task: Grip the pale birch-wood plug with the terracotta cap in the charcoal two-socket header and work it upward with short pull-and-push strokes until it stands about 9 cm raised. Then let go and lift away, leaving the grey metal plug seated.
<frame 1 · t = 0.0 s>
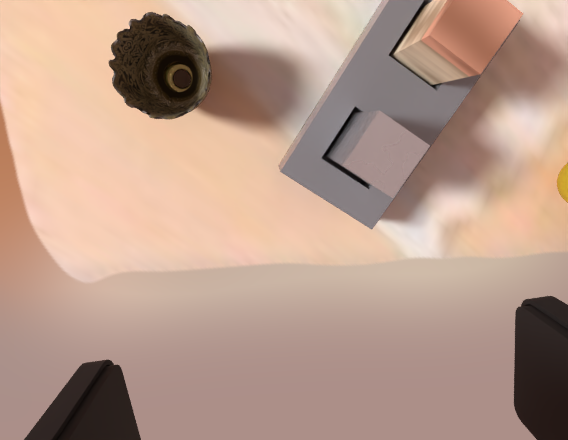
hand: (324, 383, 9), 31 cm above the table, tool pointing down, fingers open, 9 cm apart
cup: (182, 79, 37), on the table
metal plug: (365, 149, 33), point 6 cm above the table, slide at 0.0 cm
birch plug: (438, 42, 31), point 6 cm above the table, slide at 0.0 cm
header: (379, 101, 38), on the table
lemon: (563, 176, 41), on the table
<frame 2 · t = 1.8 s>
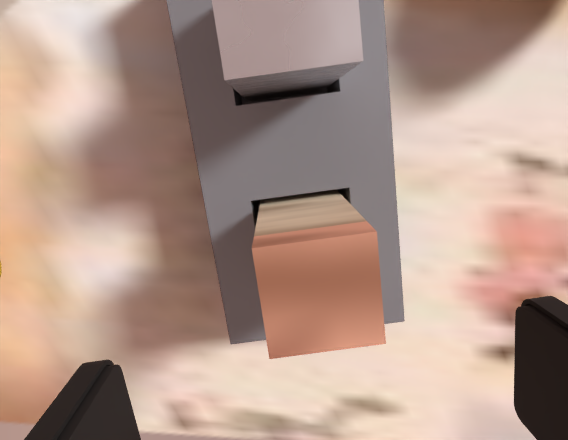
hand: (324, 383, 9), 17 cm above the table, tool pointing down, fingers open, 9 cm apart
metal plug: (281, 36, 17), point 6 cm above the table, slide at 0.0 cm
birch plug: (307, 248, 20), point 6 cm above the table, slide at 0.0 cm
header: (290, 143, 24), on the table
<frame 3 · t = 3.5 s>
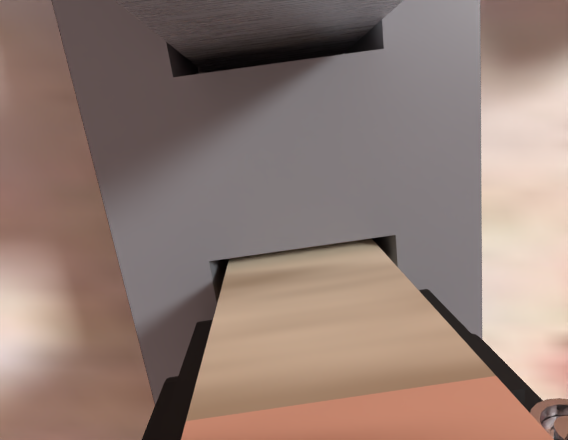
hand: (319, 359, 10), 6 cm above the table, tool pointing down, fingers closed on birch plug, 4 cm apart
birch plug: (318, 357, 10), point 6 cm above the table, slide at 0.0 cm, touching gripper, header
header: (283, 148, 15), on the table
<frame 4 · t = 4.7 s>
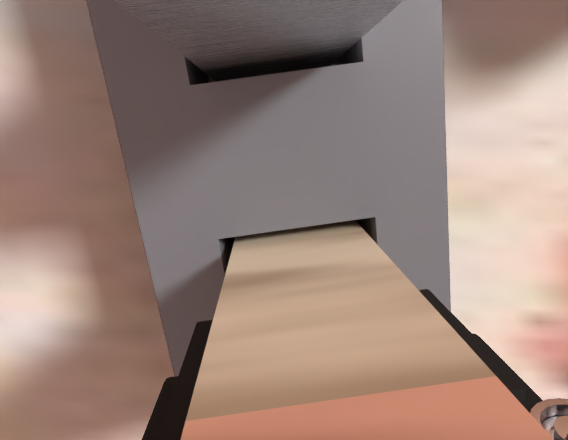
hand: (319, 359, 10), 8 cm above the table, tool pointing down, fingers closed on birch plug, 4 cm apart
birch plug: (318, 357, 10), point 8 cm above the table, slide at 2.1 cm, touching gripper
header: (281, 145, 17), on the table
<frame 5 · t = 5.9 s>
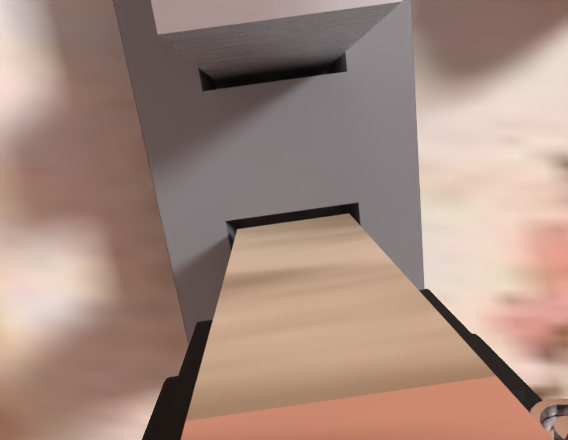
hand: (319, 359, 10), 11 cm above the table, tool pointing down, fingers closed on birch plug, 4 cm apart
birch plug: (318, 357, 10), point 11 cm above the table, slide at 4.4 cm, touching gripper
header: (279, 142, 19), on the table
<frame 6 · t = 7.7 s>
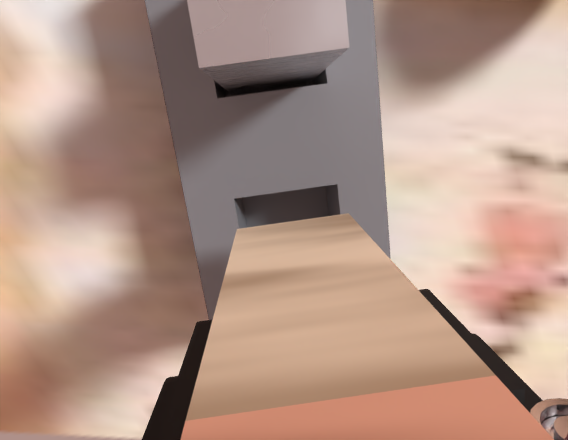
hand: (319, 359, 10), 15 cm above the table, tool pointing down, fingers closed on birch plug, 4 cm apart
metal plug: (264, 23, 16), point 6 cm above the table, slide at 0.0 cm
birch plug: (318, 356, 10), point 15 cm above the table, slide at 8.9 cm, touching gripper
header: (276, 138, 24), on the table
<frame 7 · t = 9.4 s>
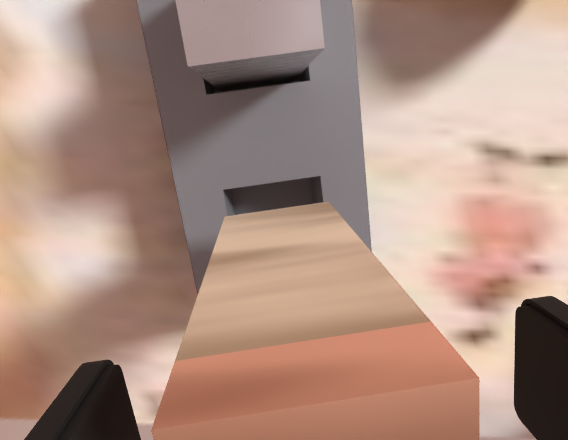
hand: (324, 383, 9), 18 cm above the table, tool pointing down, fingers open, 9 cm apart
metal plug: (249, 24, 17), point 6 cm above the table, slide at 0.0 cm
birch plug: (296, 326, 11), point 15 cm above the table, slide at 9.0 cm
header: (263, 133, 25), on the table
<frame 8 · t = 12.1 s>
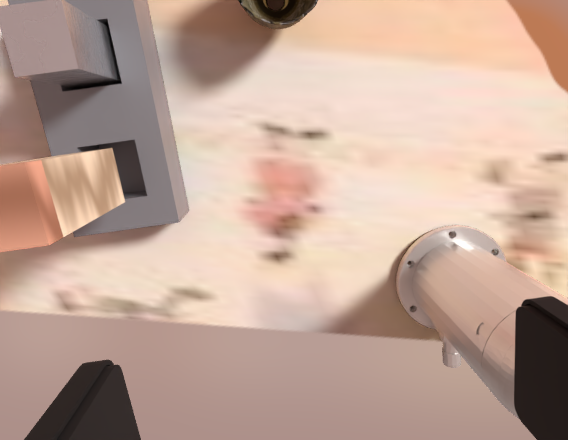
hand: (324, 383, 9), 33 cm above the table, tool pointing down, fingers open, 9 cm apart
cup: (275, 2, 37), on the table
metal plug: (77, 53, 32), point 6 cm above the table, slide at 0.0 cm
birch plug: (53, 191, 26), point 15 cm above the table, slide at 9.0 cm
header: (119, 116, 39), on the table
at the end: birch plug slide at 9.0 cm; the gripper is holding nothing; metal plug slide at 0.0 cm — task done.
